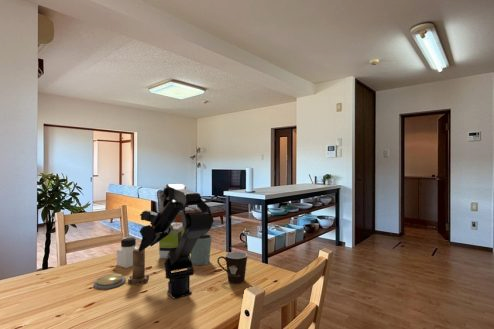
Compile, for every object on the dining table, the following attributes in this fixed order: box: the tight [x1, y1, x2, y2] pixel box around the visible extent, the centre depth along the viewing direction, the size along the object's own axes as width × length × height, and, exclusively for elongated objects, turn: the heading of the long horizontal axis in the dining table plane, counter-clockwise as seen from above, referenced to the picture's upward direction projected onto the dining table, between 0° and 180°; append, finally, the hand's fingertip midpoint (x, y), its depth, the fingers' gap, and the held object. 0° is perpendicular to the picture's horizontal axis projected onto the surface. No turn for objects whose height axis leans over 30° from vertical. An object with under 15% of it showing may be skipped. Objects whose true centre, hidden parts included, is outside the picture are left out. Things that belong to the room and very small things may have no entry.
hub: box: [96, 273, 124, 286], centre depth 106 cm, size 9×9×1 cm
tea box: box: [158, 222, 184, 259], centre depth 142 cm, size 15×10×15 cm
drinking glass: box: [190, 233, 213, 266], centre depth 130 cm, size 10×10×12 cm
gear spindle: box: [127, 247, 150, 286], centre depth 108 cm, size 8×7×12 cm
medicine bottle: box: [116, 236, 139, 269], centre depth 126 cm, size 7×7×12 cm
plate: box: [93, 275, 127, 290], centre depth 106 cm, size 11×11×1 cm
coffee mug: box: [216, 251, 248, 285], centre depth 110 cm, size 12×9×10 cm
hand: (145, 248), depth 105 cm, fingers open, 9 cm apart
